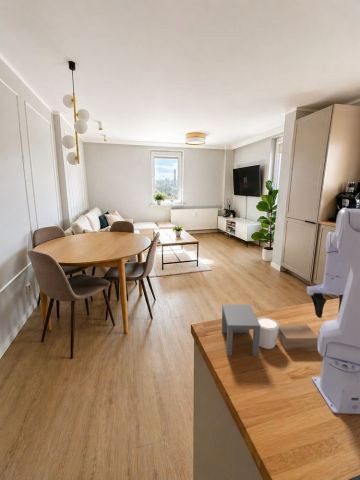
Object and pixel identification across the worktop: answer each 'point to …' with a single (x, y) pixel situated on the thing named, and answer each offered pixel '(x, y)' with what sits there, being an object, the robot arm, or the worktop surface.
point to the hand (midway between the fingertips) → (329, 316)
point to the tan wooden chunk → (297, 338)
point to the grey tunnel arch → (240, 324)
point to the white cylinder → (268, 332)
